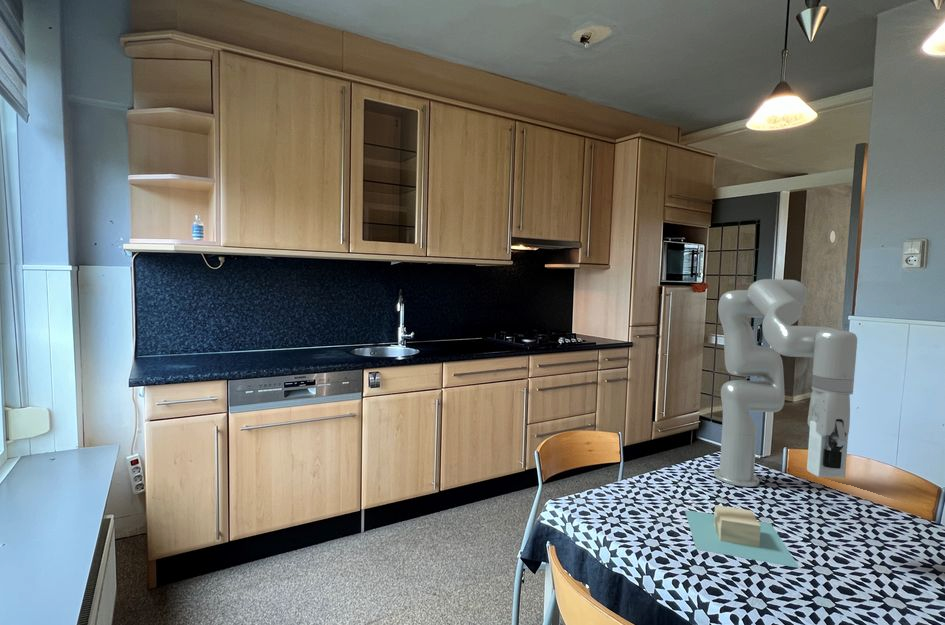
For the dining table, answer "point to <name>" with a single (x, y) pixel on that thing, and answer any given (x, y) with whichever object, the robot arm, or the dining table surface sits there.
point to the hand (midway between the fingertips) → (826, 461)
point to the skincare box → (817, 453)
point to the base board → (766, 552)
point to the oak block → (737, 526)
